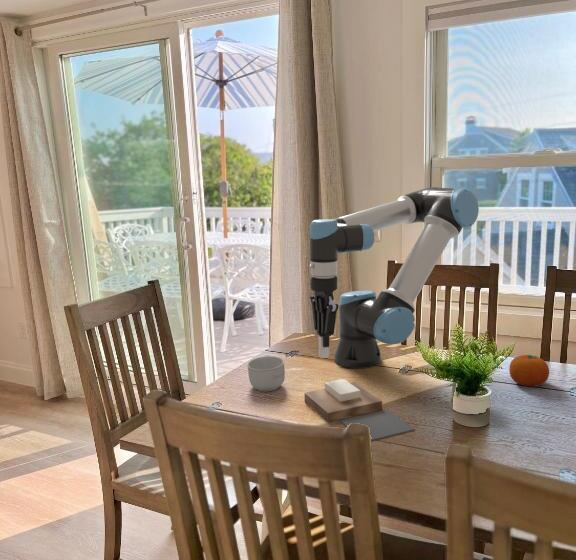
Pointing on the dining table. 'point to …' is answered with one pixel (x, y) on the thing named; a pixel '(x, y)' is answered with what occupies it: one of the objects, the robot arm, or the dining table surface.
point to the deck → (342, 404)
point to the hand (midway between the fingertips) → (323, 356)
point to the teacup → (266, 373)
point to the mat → (381, 424)
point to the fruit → (529, 370)
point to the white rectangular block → (342, 390)
